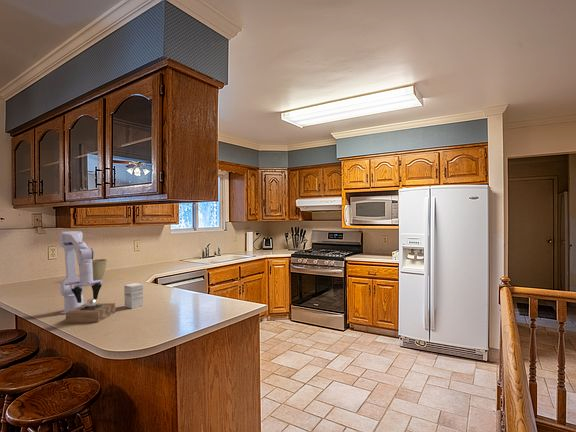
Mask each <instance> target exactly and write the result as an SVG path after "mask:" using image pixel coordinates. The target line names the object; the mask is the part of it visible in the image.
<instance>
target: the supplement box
mask: <svg viewBox="0 0 576 432" xmlns="http://www.w3.org/2000/svg"><path fill="white" fill-rule="evenodd" d="M143 306H144V284H143V283H137V282H134V283H128V284H124V307H125V308H129V309H131V310H133V309H136V308H141V307H143Z"/></svg>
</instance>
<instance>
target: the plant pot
mask: <svg viewBox="0 0 576 432" xmlns="http://www.w3.org/2000/svg"><path fill="white" fill-rule="evenodd" d="M107 262H108V261H107V259H105V258H104V259H103V258H102V259H101V258H99V259H97V258H96V259H92V268H93V281H95V280H102V281H103V278H104V275H105V271H106V267H107Z"/></svg>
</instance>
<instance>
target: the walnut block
mask: <svg viewBox="0 0 576 432" xmlns="http://www.w3.org/2000/svg"><path fill="white" fill-rule="evenodd" d="M115 313H116V303H115V302H106V303H105V302H104V303H103V302H102V303H97V302H96V307H94V308H87V303H84V305H81V306H79V307H77V308H75V309H73V310H70V311H68V312H66V313H65V323H66V324H67V323H69V324H71V323H72V324H73V323H75V324H76V323H77V324H78V323H81V324H82V323H100V322H101V321H104V320H105V319H107V318H108V317H111V316H112V315H114V314H115Z"/></svg>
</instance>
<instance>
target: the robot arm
mask: <svg viewBox="0 0 576 432" xmlns="http://www.w3.org/2000/svg"><path fill="white" fill-rule="evenodd" d="M83 238H84V237H83V231H81V230H73V231H72V230H71V231H60V232H59V237H58V239H59V246H60V247H61V248H63V250H64V260H65V261H64V262H65V274H66V275H65V278H64V279H63V280H62V281H61V282H60V287H59V289H60V295H61V296H62V297H64V299H63V302H64V303H63V304H64V307H63V309H64V310H63V311H61V312H60V314H63V315H64V314H66V312H68V311H70V310H73V309H75V308H77V307H79V306H81V305H84V304H85V302H84V301H85V298H84V295H83V294H82V293H83V292H84V287H88V286H91V289H92V299H96V300H98V296H99V292H100V290H101V289H102V288H101V287H102V285H103V279H102V280H95V281H93V268H92V260H94V256H95V253H94V250H93V248H92V247H88V245H87V244H86V242H84V241H83ZM76 261H77V262H76ZM76 263H77V264H76ZM77 265H78V273H79V276H77Z"/></svg>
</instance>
